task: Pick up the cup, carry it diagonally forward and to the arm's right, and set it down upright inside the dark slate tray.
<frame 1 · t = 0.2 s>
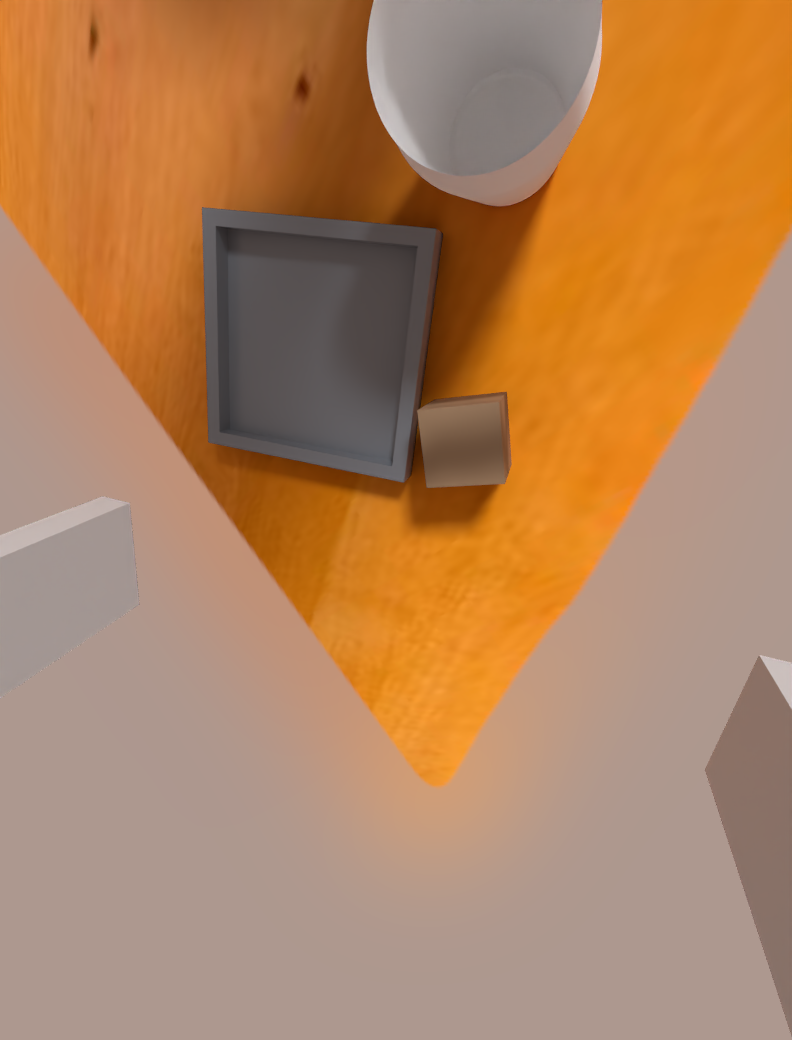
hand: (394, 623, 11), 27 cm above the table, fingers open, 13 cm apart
cup: (506, 142, 30), on the table
walnut cube: (473, 431, 36), on the table
tray: (318, 348, 37), on the table
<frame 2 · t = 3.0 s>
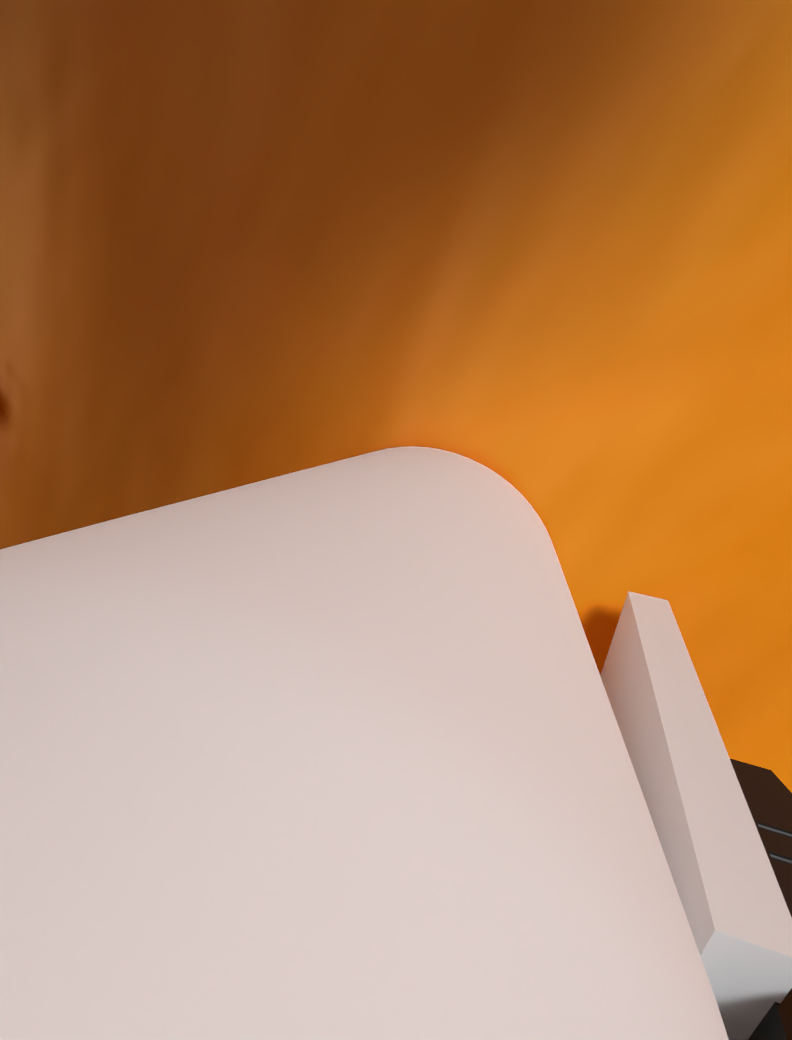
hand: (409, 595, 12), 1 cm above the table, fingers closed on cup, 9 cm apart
cup: (422, 572, 13), on the table, touching gripper
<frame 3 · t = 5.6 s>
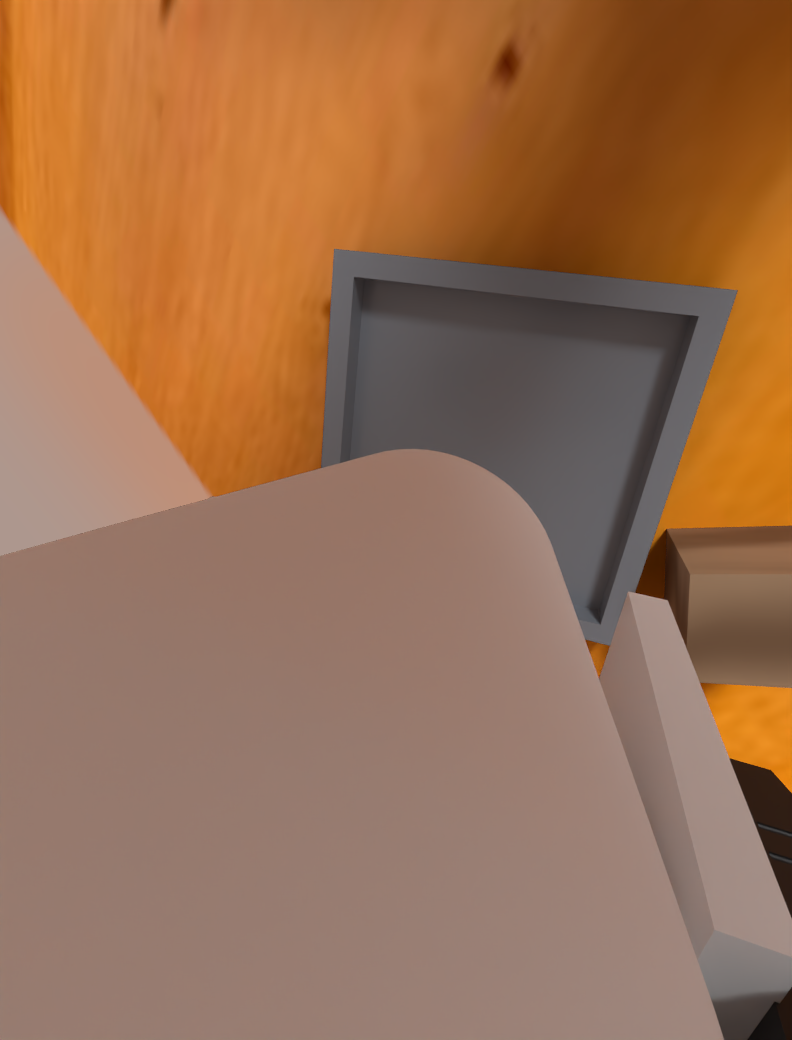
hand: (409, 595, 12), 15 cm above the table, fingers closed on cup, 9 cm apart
cup: (421, 574, 13), point 14 cm above the table, touching gripper
walnut cube: (722, 575, 25), on the table
tray: (488, 449, 26), on the table
when the fingers open (3 cm above the table, at t = 8.4 s): cup drops 1 cm, resting on tray.
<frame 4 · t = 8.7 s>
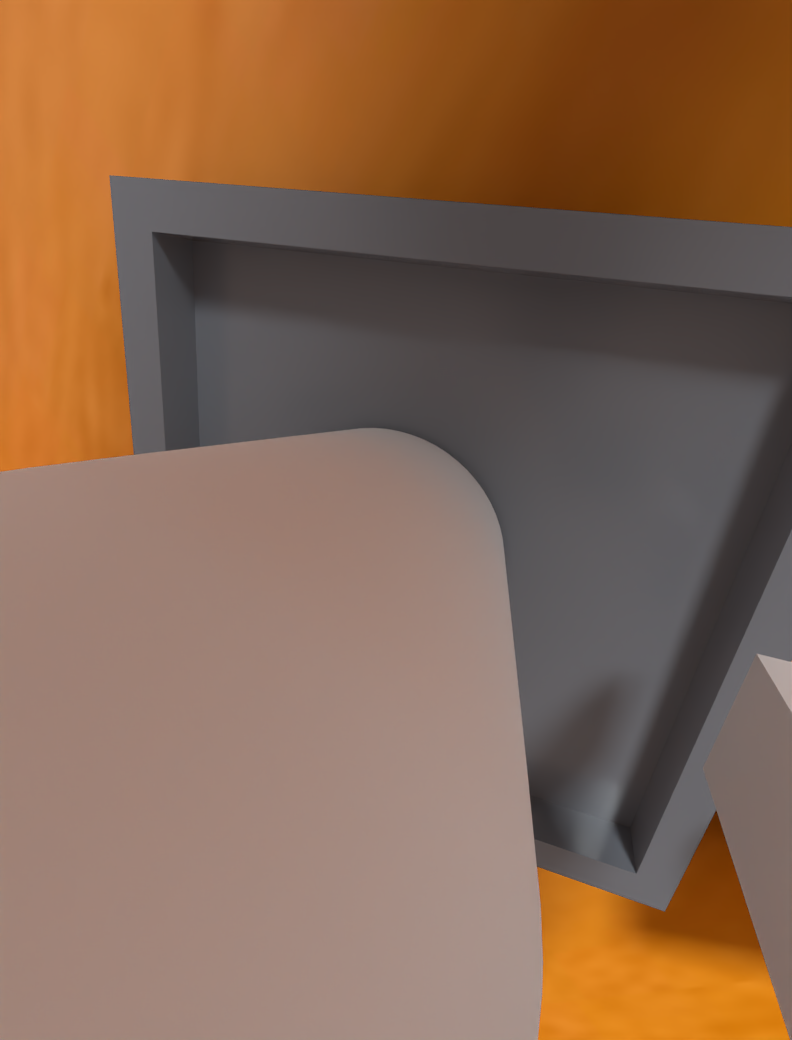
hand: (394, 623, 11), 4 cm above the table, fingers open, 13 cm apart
cup: (383, 545, 14), resting on tray
tray: (434, 550, 14), on the table
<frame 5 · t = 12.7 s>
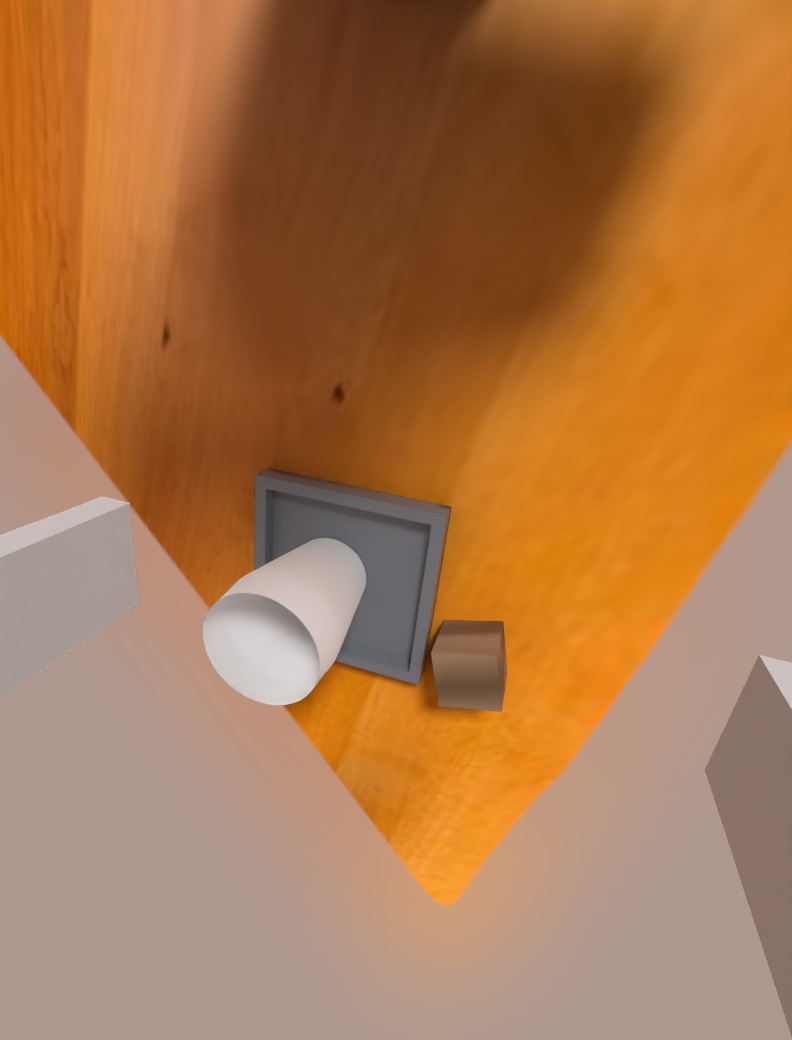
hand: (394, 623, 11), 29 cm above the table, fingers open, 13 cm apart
cup: (331, 571, 45), resting on tray
walnut cube: (475, 645, 44), on the table
tray: (348, 572, 45), on the table
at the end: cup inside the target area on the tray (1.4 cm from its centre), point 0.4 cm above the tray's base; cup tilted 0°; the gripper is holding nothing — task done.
